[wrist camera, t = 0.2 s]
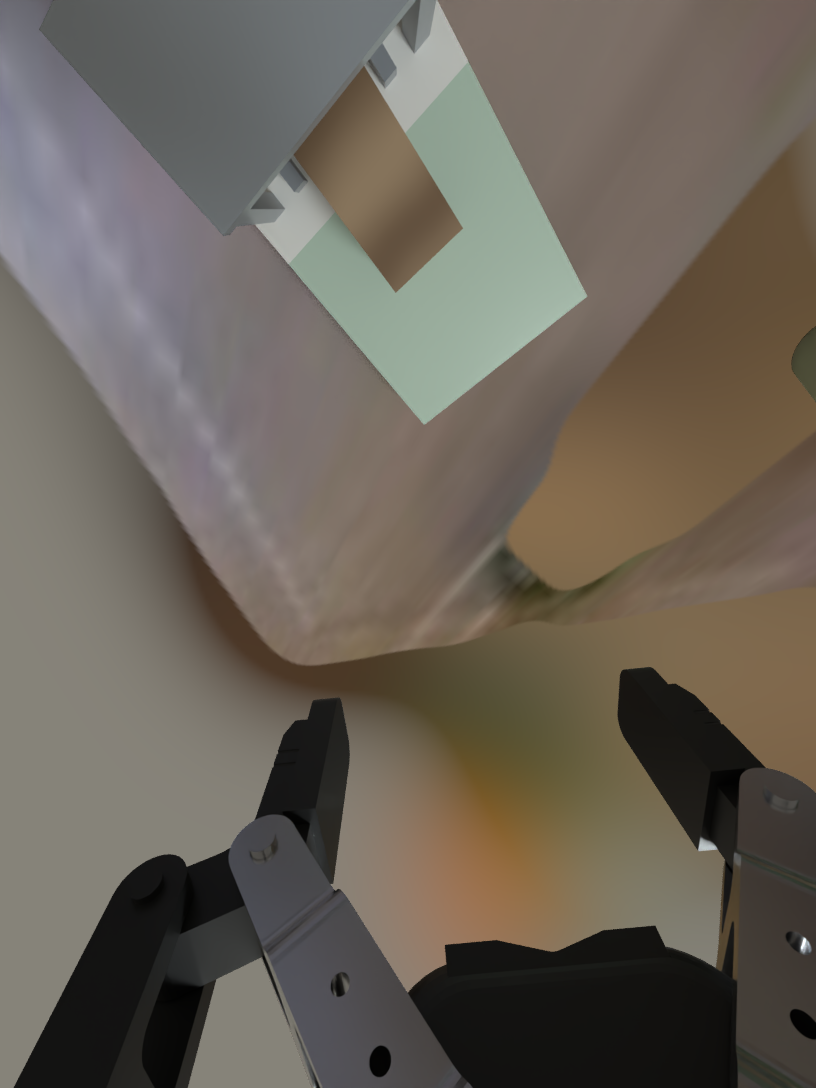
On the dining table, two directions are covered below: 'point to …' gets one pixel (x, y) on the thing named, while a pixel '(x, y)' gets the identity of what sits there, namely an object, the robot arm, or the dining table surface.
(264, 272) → the dining table surface
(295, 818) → the robot arm
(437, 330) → the tunnel deck
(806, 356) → the mug
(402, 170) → the walnut bar
